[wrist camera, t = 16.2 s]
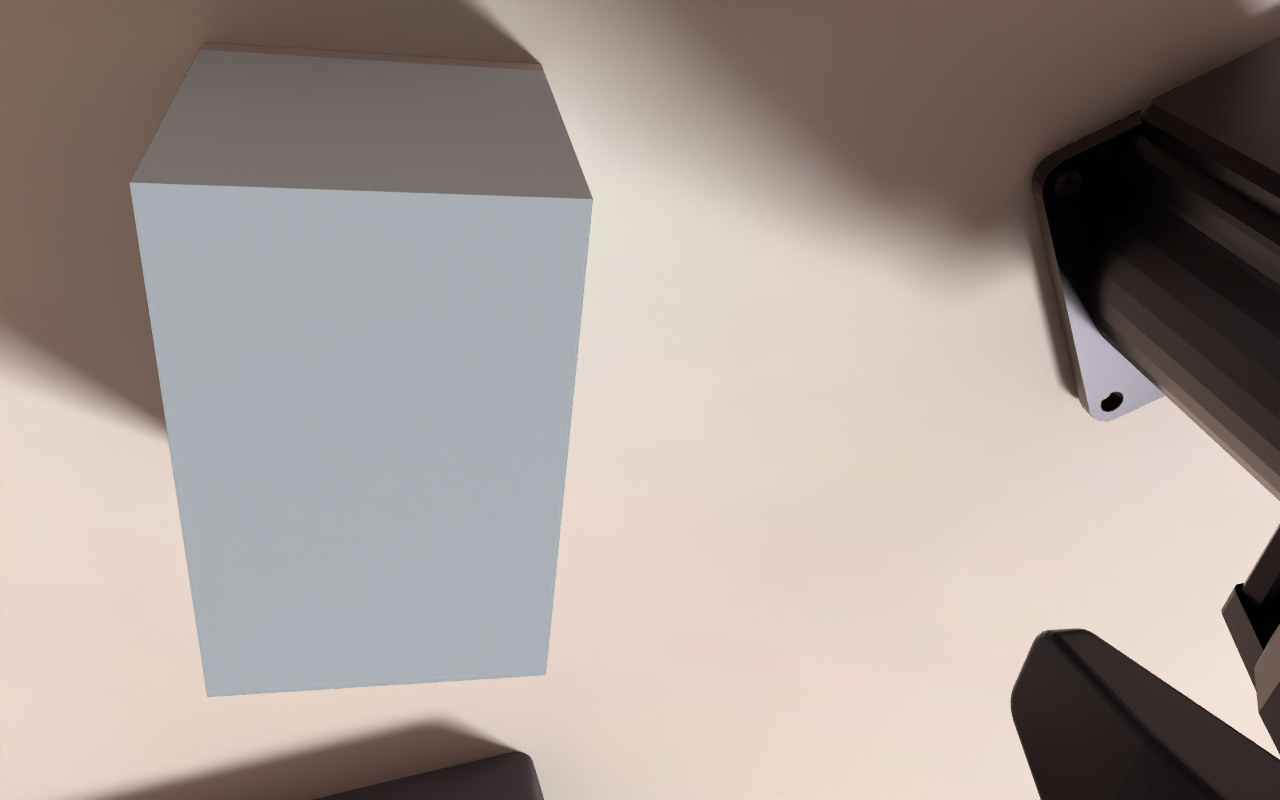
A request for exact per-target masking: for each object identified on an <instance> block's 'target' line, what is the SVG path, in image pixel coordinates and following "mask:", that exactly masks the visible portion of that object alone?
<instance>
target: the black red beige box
mask: <svg viewBox="0 0 1280 800" xmlns="http://www.w3.org/2000/svg"><path fill="white" fill-rule="evenodd" d="M314 800H544V798H543V794H542V791H541V787H540V784H539V781H538V777H537V774H536V770H535V767H534V764H533V761H532V759H531V757H530V756H528V755H527V754H525V753H521V752H513V753H507V754H502V755H498V756H494V757H490V758H485V759H481V760H477V761H473V762H469V763H465V764H460V765H456V766H452V767H448V768H444V769H440V770H435V771H431V772H427V773H423V774H419V775H415V776H410V777H406V778H402V779H398V780H394V781H390V782H385V783H381V784H377V785H373V786H369V787H364V788H360V789H356V790H352V791H348V792H344V793H339V794H335V795H331V796H327V797H323V798H319V799H314Z"/></svg>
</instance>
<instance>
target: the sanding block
mask: <svg viewBox="0 0 1280 800" xmlns="http://www.w3.org/2000/svg"><path fill="white" fill-rule="evenodd" d="M129 184H130V190H131V197H132V203H133V210H134V217H135V223H136V230H137V236H138V243H139V250H140V256H141V263H142V269H143V276H144V283H145V289H146V296H147V302H148V309H149V316H150V322H151V329H152V335H153V342H154V348H155V355H156V362H157V368H158V375H159V381H160V388H161V395H162V401H163V408H164V414H165V421H166V428H167V434H168V441H169V447H170V454H171V461H172V467H173V474H174V480H175V487H176V494H177V500H178V507H179V513H180V520H181V527H182V533H183V540H184V546H185V553H186V560H187V566H188V573H189V579H190V586H191V593H192V599H193V606H194V612H195V619H196V626H197V632H198V639H199V645H200V652H201V659H202V665H203V672H204V678H205V685H206V692H207V697H214V696H230V695H245V694H260V693H276V692H291V691H307V690H322V689H338V688H353V687H369V686H384V685H399V684H415V683H430V682H446V681H461V680H477V679H492V678H508V677H523V676H538V675H546V668H547V658H548V648H549V638H550V627H551V617H552V607H553V597H554V587H555V577H556V567H557V557H558V547H559V536H560V526H561V516H562V506H563V496H564V486H565V476H566V466H567V456H568V445H569V435H570V425H571V415H572V405H573V395H574V385H575V375H576V365H577V354H578V344H579V334H580V324H581V314H582V304H583V294H584V284H585V274H586V263H587V253H588V243H589V233H590V223H591V213H592V203H593V198H592V196H591V193H590V190H589V188H588V185H587V183H586V180H585V177H584V175H583V172H582V170H581V167H580V164H579V162H578V159H577V156H576V154H575V151H574V149H573V146H572V143H571V141H570V138H569V136H568V133H567V130H566V128H565V125H564V123H563V120H562V117H561V115H560V112H559V110H558V107H557V104H556V102H555V99H554V97H553V94H552V91H551V89H550V86H549V83H548V81H547V78H546V76H545V73H544V70H543V68H542V65H541V64H537V63H521V62H506V61H490V60H474V59H458V58H443V57H427V56H411V55H395V54H380V53H364V52H348V51H332V50H317V49H301V48H285V47H269V46H254V45H238V44H222V43H206V42H203V44H202V46H201V48H200V50H199V52H198V54H197V56H196V57H195V59H194V61H193V63H192V65H191V67H190V69H189V71H188V73H187V74H186V76H185V78H184V80H183V82H182V84H181V86H180V88H179V90H178V91H177V93H176V95H175V97H174V99H173V101H172V103H171V105H170V107H169V109H168V110H167V112H166V114H165V116H164V118H163V120H162V122H161V124H160V126H159V127H158V129H157V131H156V133H155V135H154V137H153V139H152V141H151V143H150V144H149V146H148V148H147V150H146V152H145V154H144V156H143V158H142V160H141V162H140V163H139V165H138V167H137V169H136V171H135V173H134V175H133V177H132V179H131V180H130V182H129Z"/></svg>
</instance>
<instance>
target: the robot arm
mask: <svg viewBox="0 0 1280 800" xmlns="http://www.w3.org/2000/svg"><path fill="white" fill-rule="evenodd" d="M1066 172H1070V177H1069V178H1068V180H1067V182H1066V183H1065V184H1064V185H1063V186H1061V187H1060V188H1057V189H1055V184H1056V182H1057V181H1058V179H1059V177H1061V176H1062V175H1063V174H1065V173H1066ZM1032 192H1033V196H1034V201H1035V205H1036V210H1037V214H1038V218H1039V223H1040V227H1041V232H1042V236H1043V241H1044V245H1045V249H1046V254H1047V258H1048V263H1049V267H1050V272H1051V276H1052V281H1053V285H1054V289H1055V294H1056V298H1057V303H1058V307H1059V312H1060V316H1061V320H1062V325H1063V329H1064V334H1065V338H1066V343H1067V347H1068V352H1069V356H1070V360H1071V365H1072V369H1073V374H1074V378H1075V383H1076V387H1077V391H1078V396H1079V400H1080V403H1081V405H1082V407H1083V408H1084V409H1085V410H1086V411H1087V412H1088V413H1089V414H1090V415H1091V416H1092V417H1093V418H1094V419H1096V420H1098V421H1109V420H1112V419H1115V418H1118V417H1120V416H1122V415H1124V414H1126V413H1128V412H1131V411H1133V410H1135V409H1137V408H1139V407H1141V406H1144V405H1146V404H1148V403H1150V402H1152V401H1154V400H1157V399H1159V398H1161V397H1163V396H1165V395H1166V396H1167V397H1168V398H1169V399H1170V400H1171V401H1172V402H1173V403H1174V404H1175V405H1176V406H1178V407H1179V408H1180V409H1181V410H1182V411H1183V412H1184V413H1185V414H1186V415H1187V416H1188V417H1189V418H1191V419H1192V420H1193V421H1194V422H1195V423H1196V424H1197V425H1198V426H1199V427H1200V428H1201V429H1202V430H1204V431H1205V432H1206V433H1207V434H1208V435H1209V436H1210V437H1211V438H1212V439H1213V440H1214V441H1215V442H1216V443H1218V444H1219V445H1220V446H1221V447H1222V448H1223V449H1224V450H1225V451H1226V452H1227V453H1228V454H1229V455H1231V456H1232V457H1233V458H1234V459H1235V460H1236V461H1237V462H1238V463H1239V464H1240V465H1241V466H1242V467H1244V468H1245V469H1246V470H1247V471H1248V472H1249V473H1250V474H1251V475H1252V476H1253V477H1254V478H1255V479H1256V480H1258V481H1259V482H1260V483H1261V484H1262V485H1263V486H1264V487H1265V488H1266V489H1267V490H1268V491H1269V492H1271V493H1272V494H1273V495H1274V496H1275V497H1276V498H1277V499H1278V500H1279V501H1280V38H1279V39H1276V40H1274V41H1272V42H1270V43H1268V44H1265V45H1263V46H1261V47H1259V48H1257V49H1255V50H1253V51H1251V52H1249V53H1247V54H1245V55H1243V56H1241V57H1239V58H1237V59H1235V60H1233V61H1231V62H1229V63H1227V64H1225V65H1222V66H1220V67H1218V68H1216V69H1214V70H1212V71H1210V72H1208V73H1206V74H1204V75H1202V76H1200V77H1198V78H1196V79H1194V80H1192V81H1190V82H1188V83H1186V84H1184V85H1182V86H1180V87H1177V88H1175V89H1173V90H1171V91H1169V92H1167V93H1165V94H1163V95H1161V96H1159V97H1157V98H1155V99H1153V100H1152V101H1151V102H1150V103H1149V104H1148V105H1147V106H1146V107H1145V108H1143V109H1141V110H1139V111H1137V112H1135V113H1133V114H1131V115H1129V116H1127V117H1125V118H1123V119H1121V120H1119V121H1117V122H1115V123H1113V124H1111V125H1109V126H1106V127H1104V128H1102V129H1100V130H1098V131H1096V132H1094V133H1092V134H1090V135H1088V136H1086V137H1084V138H1082V139H1080V140H1078V141H1076V142H1074V143H1072V144H1070V145H1068V146H1066V147H1063V148H1061V149H1059V150H1057V151H1055V152H1053V153H1051V154H1050V155H1049V156H1047V157H1046V158H1044V159H1043V160H1042V161H1041V162H1040V164H1039V165H1038V166H1037V167H1036V169H1035V171H1034V174H1033V177H1032ZM1109 393H1111V394H1110V395H1109V397H1107V398H1106V399H1104V397H1105V396H1107V395H1108V394H1109ZM1103 399H1104V400H1103ZM1222 615H1223V617H1224V620H1225V622H1226V624H1227V626H1228V629H1229V631H1230V633H1231V635H1232V638H1233V640H1234V642H1235V644H1236V647H1237V649H1238V651H1239V653H1240V656H1241V658H1242V660H1243V662H1244V665H1245V667H1246V669H1247V671H1248V674H1249V676H1250V678H1251V680H1252V683H1253V685H1254V687H1255V689H1256V692H1257V701H1258V711H1259V715H1260V716H1261V718H1262V720H1263V722H1264V724H1265V726H1266V728H1267V730H1268V732H1269V734H1270V736H1271V738H1272V740H1273V742H1274V744H1275V746H1276V748H1277V750H1278V752H1279V754H1280V524H1279V526H1278V528H1277V529H1276V531H1275V533H1274V534H1273V536H1272V538H1271V539H1270V541H1269V543H1268V544H1267V546H1266V548H1265V549H1264V551H1263V553H1262V554H1261V556H1260V558H1259V560H1258V561H1257V563H1256V565H1255V566H1254V568H1253V570H1252V571H1251V573H1250V575H1249V576H1248V578H1247V580H1246V581H1245V583H1241V584H1237V585H1236V586H1235V588H1234V589H1233V591H1232V593H1231V594H1230V596H1229V598H1228V600H1227V601H1226V603H1225V605H1224V606H1223V608H1222ZM1011 712H1012V717H1013V721H1014V724H1015V727H1016V730H1017V732H1018V735H1019V738H1020V741H1021V744H1022V747H1023V750H1024V753H1025V756H1026V758H1027V761H1028V764H1029V767H1030V770H1031V773H1032V776H1033V779H1034V782H1035V784H1036V787H1037V790H1038V793H1039V796H1040V799H1041V800H1280V760H1279V759H1278V758H1276V757H1275V756H1273V755H1272V754H1270V753H1269V752H1268V751H1266V750H1265V749H1263V748H1262V747H1260V746H1259V745H1257V744H1256V743H1254V742H1253V741H1251V740H1250V739H1248V738H1247V737H1245V736H1244V735H1242V734H1241V733H1240V732H1238V731H1237V730H1235V729H1234V728H1232V727H1231V726H1229V725H1228V724H1226V723H1225V722H1223V721H1222V720H1220V719H1219V718H1217V717H1216V716H1214V715H1213V714H1211V713H1210V712H1209V711H1207V710H1206V709H1204V708H1203V707H1201V706H1200V705H1198V704H1197V703H1195V702H1194V701H1192V700H1191V699H1189V698H1188V697H1186V696H1185V695H1183V694H1182V693H1181V692H1179V691H1178V690H1176V689H1175V688H1173V687H1172V686H1170V685H1169V684H1167V683H1166V682H1164V681H1163V680H1161V679H1160V678H1158V677H1157V676H1155V675H1154V674H1152V673H1151V672H1150V671H1148V670H1147V669H1145V668H1144V667H1142V666H1141V665H1139V664H1138V663H1136V662H1135V661H1133V660H1132V659H1130V658H1129V657H1127V656H1126V655H1124V654H1123V653H1122V652H1120V651H1119V650H1117V649H1116V648H1114V647H1113V646H1111V645H1110V644H1108V643H1107V642H1105V641H1104V640H1102V639H1101V638H1099V637H1098V636H1096V635H1095V634H1093V633H1091V632H1090V631H1087V630H1084V629H1059V630H1047V631H1043V632H1042V633H1041V634H1039V635H1038V636H1037V637H1036V638H1035V640H1034V642H1033V644H1032V646H1031V648H1030V651H1029V653H1028V655H1027V658H1026V660H1025V662H1024V664H1023V667H1022V669H1021V671H1020V673H1019V676H1018V678H1017V680H1016V683H1015V685H1014V687H1013V690H1012V694H1011Z"/></svg>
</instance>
